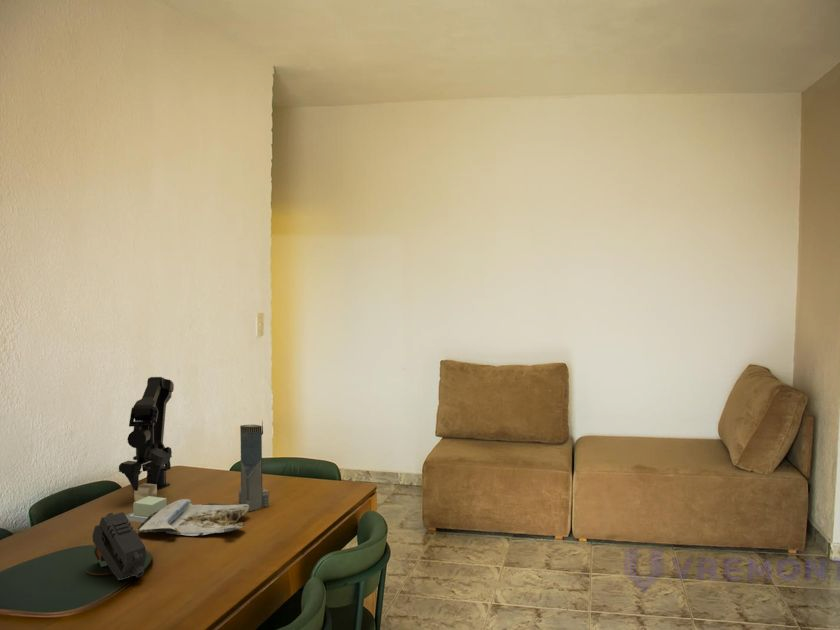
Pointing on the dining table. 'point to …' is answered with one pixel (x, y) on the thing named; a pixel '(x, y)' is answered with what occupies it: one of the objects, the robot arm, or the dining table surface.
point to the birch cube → (145, 491)
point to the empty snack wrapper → (195, 518)
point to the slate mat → (135, 518)
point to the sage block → (148, 506)
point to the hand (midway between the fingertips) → (145, 486)
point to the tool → (119, 546)
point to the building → (252, 468)
